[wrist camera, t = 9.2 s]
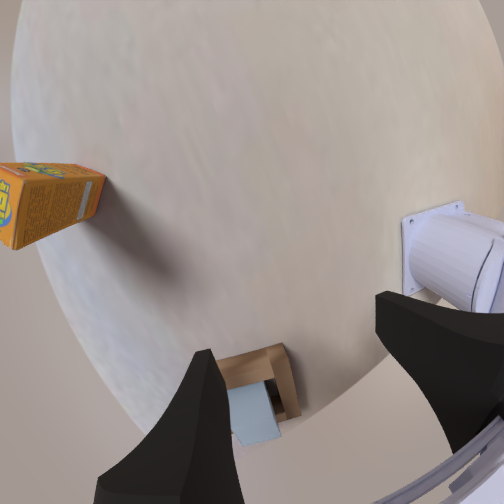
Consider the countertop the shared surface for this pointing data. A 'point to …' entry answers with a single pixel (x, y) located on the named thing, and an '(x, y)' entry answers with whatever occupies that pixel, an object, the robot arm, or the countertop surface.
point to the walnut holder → (264, 377)
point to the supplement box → (44, 199)
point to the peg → (252, 414)
